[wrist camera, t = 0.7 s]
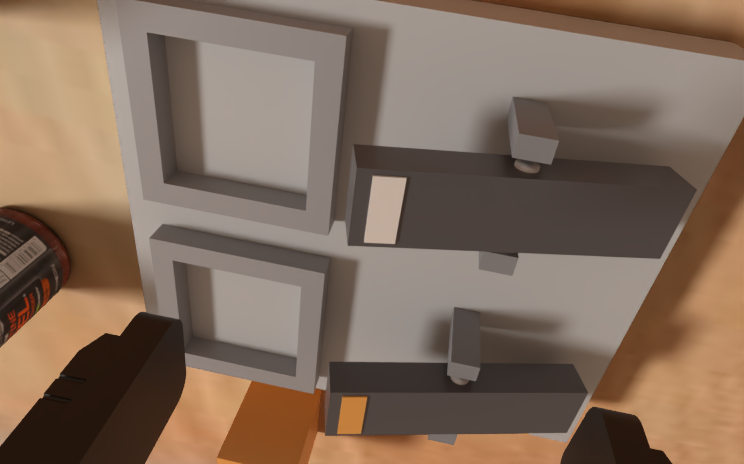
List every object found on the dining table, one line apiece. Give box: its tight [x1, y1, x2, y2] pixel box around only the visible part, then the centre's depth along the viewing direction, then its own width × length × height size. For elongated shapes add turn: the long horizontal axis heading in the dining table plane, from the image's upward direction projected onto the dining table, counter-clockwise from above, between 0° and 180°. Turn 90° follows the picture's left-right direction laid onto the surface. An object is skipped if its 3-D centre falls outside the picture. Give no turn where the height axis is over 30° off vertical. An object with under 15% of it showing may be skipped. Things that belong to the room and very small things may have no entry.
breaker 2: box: [324, 362, 588, 436], centre depth 23 cm, size 11×3×2 cm, turn 83°
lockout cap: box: [217, 381, 322, 464], centre depth 32 cm, size 4×4×7 cm
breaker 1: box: [345, 144, 697, 259], centre depth 18 cm, size 11×3×2 cm, turn 83°
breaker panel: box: [97, 0, 744, 445], centre depth 23 cm, size 23×20×6 cm
